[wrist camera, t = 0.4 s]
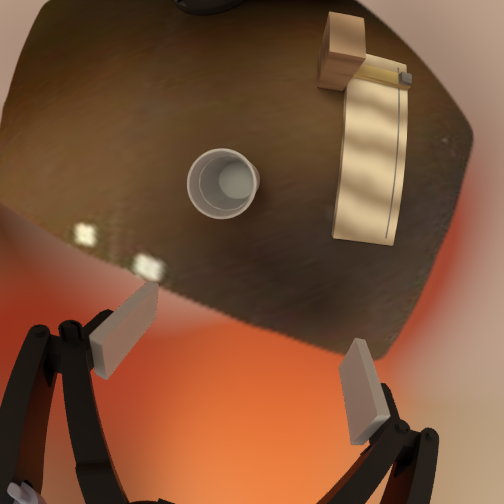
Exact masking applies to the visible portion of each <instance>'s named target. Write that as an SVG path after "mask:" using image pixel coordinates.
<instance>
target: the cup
mask: <svg viewBox="0 0 504 504" xmlns="http://www.w3.org/2000/svg"><path fill="white" fill-rule="evenodd" d="M259 184H260V176H259V173H258V170H257V169H256V167H255V166H254V165H253V164H251V163H250V162H249V161H248V160H247V159H246V158H245V157H244V156H243V155H241V154H240V153H238V152H236V151H234V150H230V149H224V148H220V149H213V150H210V151H208V152H206V153H204V154H202V155H201V156H200V157H199V158H198V159H197V160H196V161H195V162H194V163H193V165H192V166H191V168H190V171H189V174H188V178H187V190H188V194H189V197H190V199H191V201H192V203H193V204H194V206H195V207H196V208H197V209H198V210H199V211H200V212H201V213H203V214H205V215H206V216H209V217H211V218H215V219H228V218H232V217H235V216H237V215H239V214H241V213H242V212H243V211H245V210H246V209H247V208H248V206H249V205H250V204H251V202H252V201H253V198H254V196H255V193H256V191H257V190H258V187H259Z"/></svg>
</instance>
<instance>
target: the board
mask: <svg viewBox="0 0 504 504" xmlns="http://www.w3.org/2000/svg"><path fill="white" fill-rule="evenodd" d="M362 64H364V65H368V66H373V67H377V68H381V69H384V70H388V71H392V72H395V73H398V74H399V73H401V72H405V73H407V72H406V65H404V64H401V63H398V62H395V61H391V60H388V59H384V58H380V57H376V56H372V55H368V54H366V59H365V61H364V62H363V63H362ZM406 140H407V90H403V89H400V88H396V87H393V86H389V85H385V84H381V83H377V82H373V81H369V80H365V79H360V78H355V77H352V79H351V80H350V81H349V83H348V84H347V86H346V87H345V88H344V114H343V131H342V145H341V157H340V168H339V178H338V187H337V196H336V204H335V212H334V219H333V226H332V233H331V235H332V237H333V238H337V239H345V240H353V241H361V242H369V243H376V244H383V245H391V246H393V242H394V237H395V232H396V226H397V221H398V215H399V208H400V201H401V194H402V186H403V177H404V167H405V156H406Z"/></svg>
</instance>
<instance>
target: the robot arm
mask: <svg viewBox="0 0 504 504" xmlns="http://www.w3.org/2000/svg"><path fill="white" fill-rule="evenodd" d="M173 1H174V2H175V3H176V5H177V6H178V7H179V8H180V9H181V10H183V11H185V12H187V13H190V14H196V15H208V14H215V13H219V12H223V11H226V10H228V9H231V8H233V7H235V6H237V5H239V4H240V3H242V2H243V1H244V0H173ZM158 288H159V284H157V283H154V282H151V281H148V282H146V283H145V284H144V285H143V286H142V287H141V288H140V289H139V290H137V291H136V292H135V293H134V294H133V295H132V296H131V297H130V298H129V299H127V300H126V301H125V302H124V303H123V304H122V305H121V306H120V307H119V308H118V309H117V310H116V311H111V310H109V309H107V310H104V311H102V312H100V313H99V314H98V315H96V316H95V317H94V318H93V319H92V320H91V321H90V322H89V323H87V324H86V325H85V326H84V327H82V325H81V324H80V323H79V322H77V321H75V320H66V321H64V322H62V323H61V324H60V325H59V327H58V329H59V335H60V337H59V336H55V335H52V334H50V330H49V328H48V327H47V326H45V325H34V326H33V327H31V329H30V330H29V332H28V334H27V336H26V338H25V340H24V343H23V345H22V347H21V350H20V352H19V355H18V357H17V360H16V362H15V365H14V367H13V370H12V373H11V376H10V378H9V381H8V384H7V387H6V390H5V394H4V397H3V400H2V404H1V407H0V504H47V503H46V502H45V500H44V498H43V497H42V496H41V490H42V483H43V466H44V452H45V442H46V433H47V426H48V419H49V413H50V407H51V402H52V397H53V392H54V387H55V383H56V378H57V374H58V373H61V374H62V380H63V392H64V401H65V409H66V416H67V422H68V428H69V434H70V438H71V444H72V448H73V453H74V457H75V461H76V468H75V469H76V474H77V478H78V482H79V485H80V488H81V491H82V494H83V497H84V500H85V503H86V504H174V503H171V502H168V501H165V500H163V499H160V498H159V500H158V502H156V501H135V502H131V503H130V502H129V500H128V498H127V496H126V494H125V491H124V490H123V487H122V485H121V482H120V480H119V477H118V475H117V472H116V470H115V466H114V464H113V461H112V458H111V455H110V452H109V449H108V445H107V442H106V439H105V436H104V432H103V428H102V425H101V421H100V417H99V413H98V408H97V404H96V400H95V395H94V390H93V385H92V379H91V374H90V371H91V370H92V369H93V367H94V370H95V374H96V375H98V376H100V377H102V378H104V379H106V380H107V379H108V378H109V377H110V375H111V374H112V373H113V372H114V370H115V369H116V368H117V366H118V365H119V364H120V363H121V361H122V360H123V359H124V357H125V356H126V355H127V354H128V353H129V351H130V350H131V349H132V348H133V346H134V345H135V343H136V342H137V341H138V340H139V339H140V337H141V336H142V335H143V334H144V332H145V331H146V330H147V329H148V328H149V326H150V325H151V324H152V323H153V321H154V320H155V319H156V310H157V299H158ZM339 373H340V379H341V384H342V390H343V395H344V401H345V408H346V414H347V420H348V427H349V434H350V441H351V445H364V444H365V443H366V441H367V440H369V443H370V445H369V446H368V447H367V448H366V449H365V450H364V451H363V452H362V453H361V454H360V455H361V456H360V457H359V458H358V459H357V461H356V462H355V463H354V464H353V465H352V466H351V468H350V469H349V470H348V471H347V472H346V474H345V475H344V476H343V477H342V478H341V479H340V480H339V481H338V482H337V483H336V484H335V485H334V487H333V488H332V489H331V490H330V491H329V492H328V493H327V494H326V495H325V496H324V497H323V498H322V499H321V500H320V501H319V502H317V504H365V503H366V502H367V500H368V499H369V498H370V496H371V495H372V494H373V492H374V491H375V489H376V488H377V487H378V485H379V484H380V482H381V481H382V479H383V478H384V476H385V475H386V473H387V472H388V470H389V469H390V467H391V466H392V464H393V466H392V470H391V473H390V476H389V479H388V482H387V485H386V488H385V491H384V494H383V496H382V499H381V502H380V504H430V499H431V494H432V489H433V484H434V478H435V472H436V465H437V456H438V446H439V435H438V434H437V432H436V431H435V430H434V429H432V428H425V429H423V430H422V431H421V432H416V431H413V430H410V427H409V425H408V424H407V423H406V422H405V421H404V420H401V419H400V417H399V414H398V411H397V408H396V405H395V402H394V399H393V397H392V393H391V390H390V389H389V387H388V386H387V385H386V384H385V383H380V381H379V378H378V375H377V372H376V369H375V366H374V363H373V360H372V357H371V355H370V352H369V349H368V346H367V344H366V341H365V340H364V339H359V338H355V339H354V341H353V343H352V345H351V347H350V348H349V350H348V352H347V354H346V356H345V358H344V359H343V361H342V363H341V365H340V366H339Z"/></svg>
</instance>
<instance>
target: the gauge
mask: <svg viewBox="0 0 504 504" xmlns="http://www.w3.org/2000/svg"><path fill="white" fill-rule="evenodd" d="M365 59H366V46H365V28H364V18H360V17H355V16H350V15H345V14H340V13H334V12H329V15H328V19H327V23H326V27H325V31H324V35H323V39H322V43H321V46H320V50H319V54H318V77H317V87H319V88H326V89H332V90H338V91H343V90H344V88H345V87H346V86H347V84H348V83H349V81H350V80H351V79H352V77H355V78H360V79H365V80H369V81H373V82H377V83H381V84H385V85H389V86H393V87H396V88H400V89H403V90H408V89H410V85H411V84H412V74H409V73H405V72H401V73H399V74H398V73H395V72H392V71H388V70H384V69H381V68H377V67H373V66H368V65H364V64H362V63H363V62H364V61H365Z"/></svg>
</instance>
